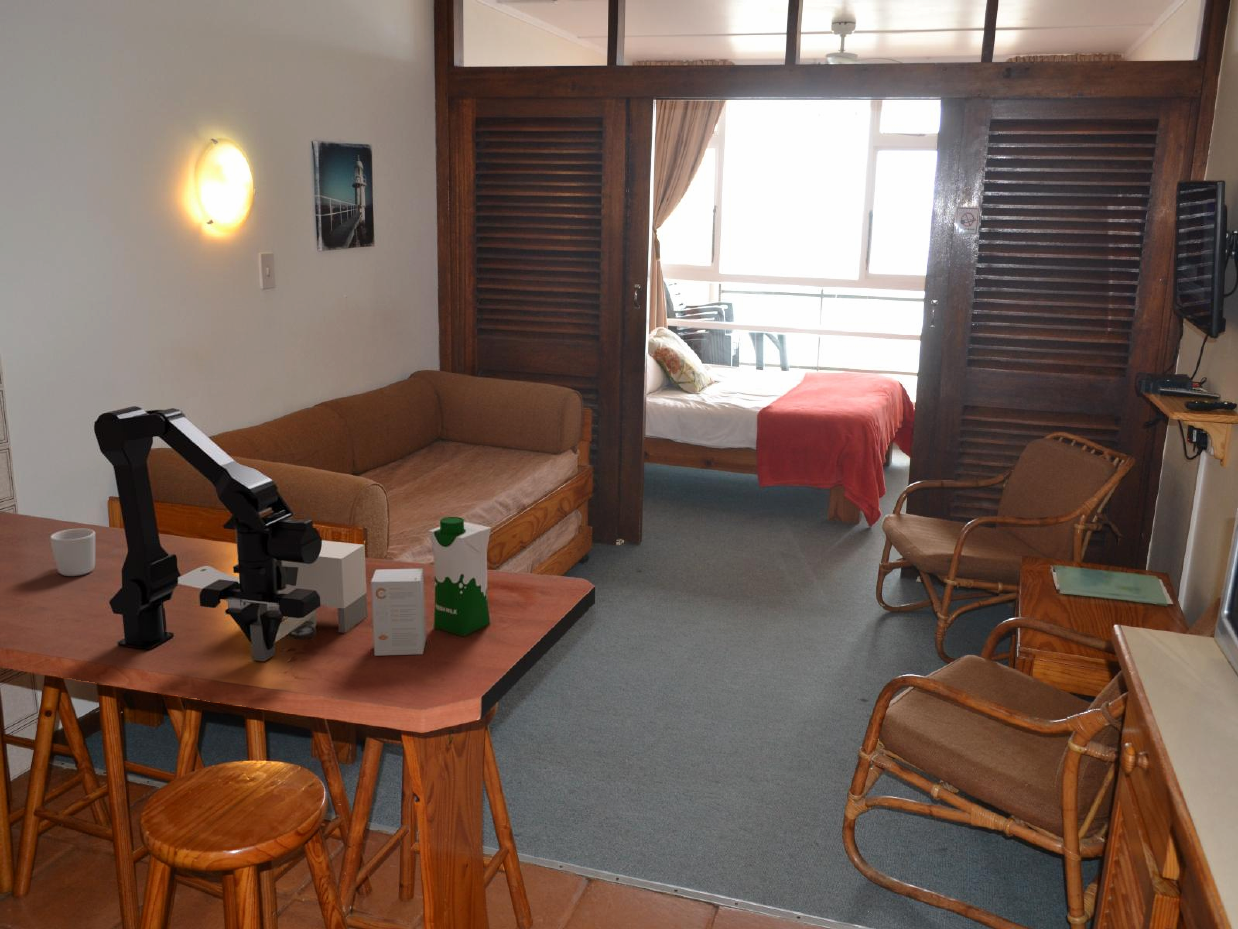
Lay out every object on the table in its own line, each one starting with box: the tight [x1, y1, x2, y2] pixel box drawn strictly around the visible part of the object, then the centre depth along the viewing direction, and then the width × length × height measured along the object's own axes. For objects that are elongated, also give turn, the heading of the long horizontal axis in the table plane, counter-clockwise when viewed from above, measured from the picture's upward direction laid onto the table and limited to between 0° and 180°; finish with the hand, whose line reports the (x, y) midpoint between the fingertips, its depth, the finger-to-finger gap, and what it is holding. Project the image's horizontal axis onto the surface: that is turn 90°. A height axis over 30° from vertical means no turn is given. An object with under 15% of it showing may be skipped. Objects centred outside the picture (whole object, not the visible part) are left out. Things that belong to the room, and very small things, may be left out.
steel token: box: [287, 621, 317, 640], centre depth 183 cm, size 4×4×2 cm
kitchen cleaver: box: [178, 565, 240, 590], centre depth 203 cm, size 31×2×10 cm
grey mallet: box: [250, 609, 318, 662], centre depth 178 cm, size 16×2×6 cm, turn 165°
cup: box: [49, 528, 96, 577], centre depth 212 cm, size 11×8×8 cm
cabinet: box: [258, 539, 369, 634], centre depth 188 cm, size 8×18×14 cm, turn 75°
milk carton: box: [428, 516, 492, 637], centre depth 185 cm, size 9×9×20 cm
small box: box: [370, 568, 427, 657], centre depth 176 cm, size 8×6×13 cm
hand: (263, 648), depth 172 cm, fingers closed on grey mallet, 2 cm apart
